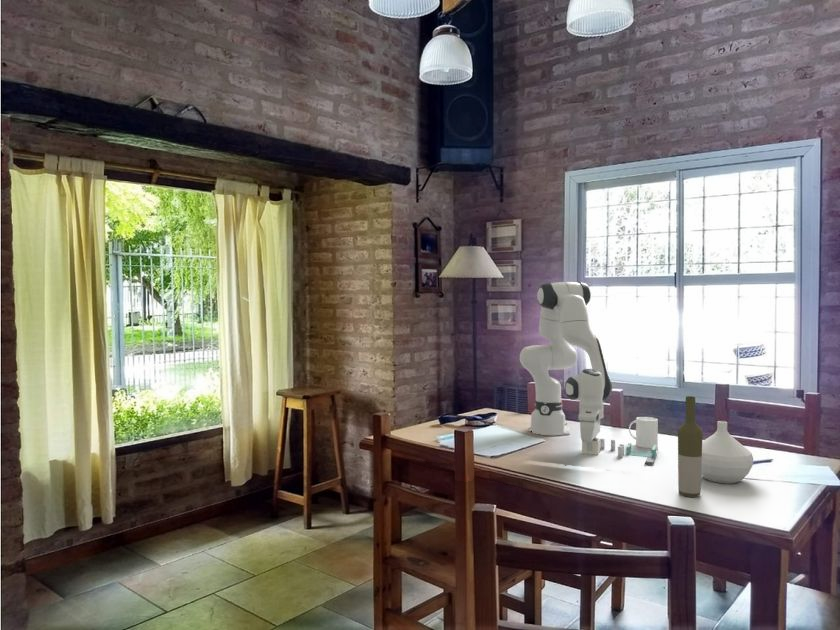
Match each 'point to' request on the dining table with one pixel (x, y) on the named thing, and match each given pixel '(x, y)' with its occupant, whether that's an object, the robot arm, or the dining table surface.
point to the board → (622, 451)
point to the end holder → (639, 453)
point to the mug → (646, 432)
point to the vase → (724, 457)
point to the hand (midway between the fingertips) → (590, 448)
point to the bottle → (689, 453)
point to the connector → (594, 447)
